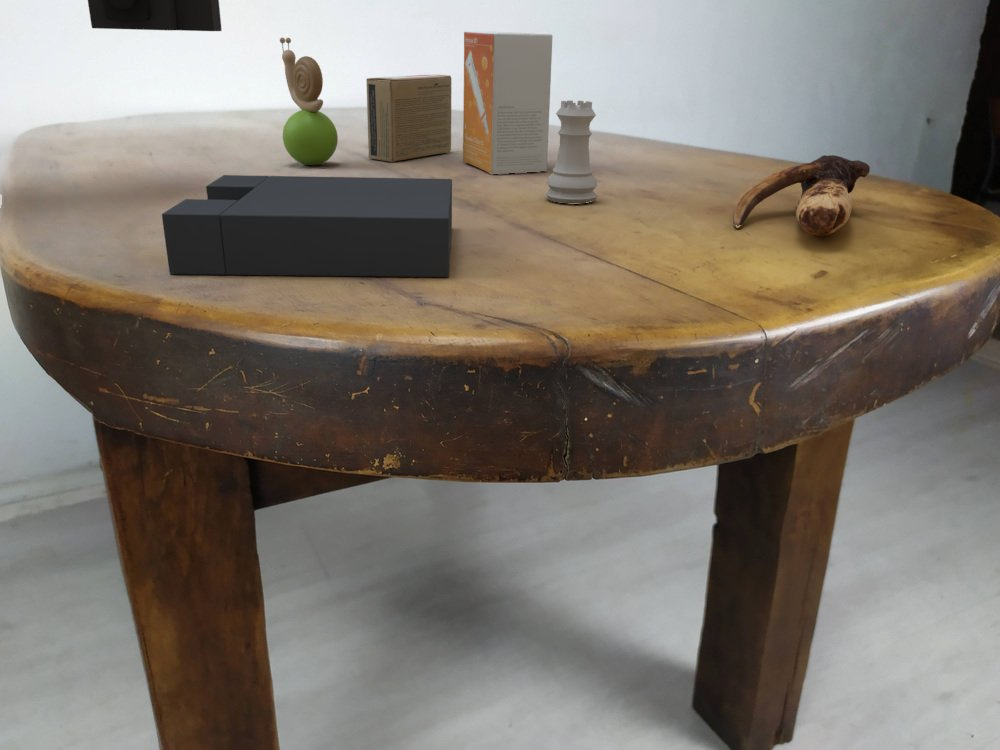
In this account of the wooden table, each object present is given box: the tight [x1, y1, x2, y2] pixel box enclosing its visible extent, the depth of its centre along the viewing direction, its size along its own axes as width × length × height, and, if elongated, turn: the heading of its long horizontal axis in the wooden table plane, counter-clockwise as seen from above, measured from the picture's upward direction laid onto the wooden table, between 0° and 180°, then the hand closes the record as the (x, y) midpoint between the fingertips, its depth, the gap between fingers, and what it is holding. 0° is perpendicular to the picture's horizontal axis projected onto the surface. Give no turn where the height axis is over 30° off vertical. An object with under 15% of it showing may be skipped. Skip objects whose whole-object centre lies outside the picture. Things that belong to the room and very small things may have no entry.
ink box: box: [365, 74, 452, 163], centre depth 91 cm, size 10×4×8 cm, turn 144°
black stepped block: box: [87, 0, 222, 32], centre depth 66 cm, size 9×6×4 cm
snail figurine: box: [279, 37, 339, 166], centre depth 83 cm, size 5×6×12 cm
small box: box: [462, 31, 553, 176], centre depth 84 cm, size 8×6×13 cm
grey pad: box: [161, 174, 453, 278], centre depth 53 cm, size 16×13×4 cm
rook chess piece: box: [545, 99, 598, 203], centre depth 69 cm, size 4×4×8 cm
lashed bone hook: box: [732, 154, 871, 237], centre depth 64 cm, size 9×5×18 cm
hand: (142, 18), depth 67 cm, fingers closed on black stepped block, 6 cm apart
